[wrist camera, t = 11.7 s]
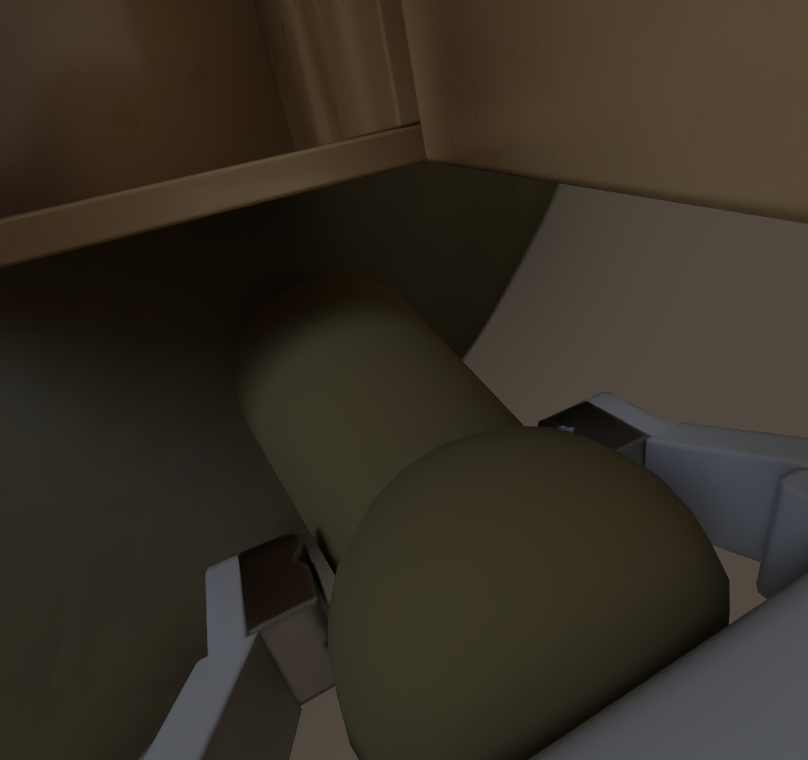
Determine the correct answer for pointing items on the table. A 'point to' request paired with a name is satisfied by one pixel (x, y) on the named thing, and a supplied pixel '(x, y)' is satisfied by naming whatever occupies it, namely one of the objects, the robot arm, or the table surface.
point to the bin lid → (621, 95)
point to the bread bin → (190, 111)
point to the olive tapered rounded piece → (464, 535)
